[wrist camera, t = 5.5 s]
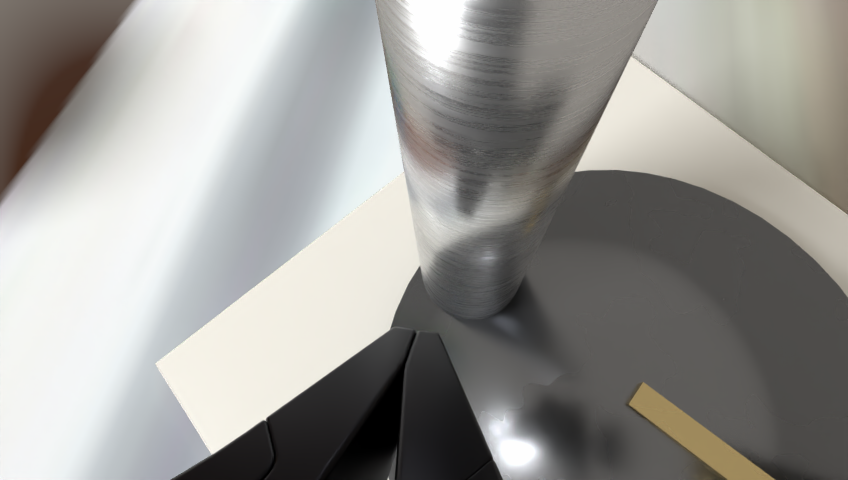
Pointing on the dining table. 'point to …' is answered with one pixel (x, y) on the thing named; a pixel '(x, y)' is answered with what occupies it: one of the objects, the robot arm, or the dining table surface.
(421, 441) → the robot arm
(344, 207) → the dining table surface
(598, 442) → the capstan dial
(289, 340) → the level stand
